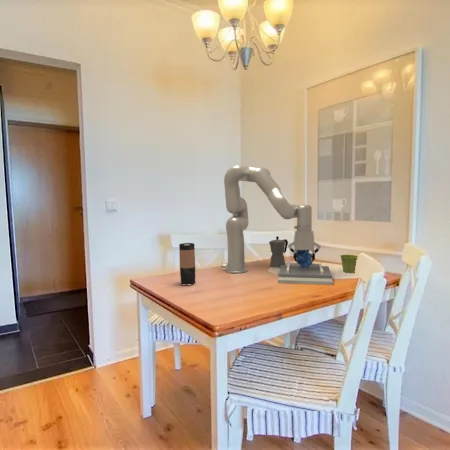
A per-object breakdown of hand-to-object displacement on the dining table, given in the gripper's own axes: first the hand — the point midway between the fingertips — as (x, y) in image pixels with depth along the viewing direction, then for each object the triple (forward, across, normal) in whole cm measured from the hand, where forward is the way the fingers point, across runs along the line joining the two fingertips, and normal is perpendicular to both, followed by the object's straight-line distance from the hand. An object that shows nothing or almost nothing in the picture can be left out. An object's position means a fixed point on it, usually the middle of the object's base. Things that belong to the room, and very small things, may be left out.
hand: (304, 260), depth 180 cm
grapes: (+4, -1, +1) cm, 5 cm away
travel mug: (+8, -57, -24) cm, 62 cm away
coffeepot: (+8, -15, +24) cm, 29 cm away
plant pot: (+8, +24, +12) cm, 28 cm away
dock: (+8, 0, -2) cm, 8 cm away
